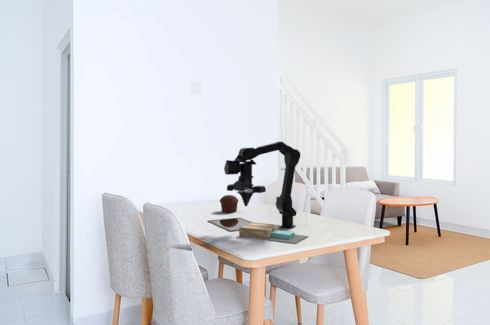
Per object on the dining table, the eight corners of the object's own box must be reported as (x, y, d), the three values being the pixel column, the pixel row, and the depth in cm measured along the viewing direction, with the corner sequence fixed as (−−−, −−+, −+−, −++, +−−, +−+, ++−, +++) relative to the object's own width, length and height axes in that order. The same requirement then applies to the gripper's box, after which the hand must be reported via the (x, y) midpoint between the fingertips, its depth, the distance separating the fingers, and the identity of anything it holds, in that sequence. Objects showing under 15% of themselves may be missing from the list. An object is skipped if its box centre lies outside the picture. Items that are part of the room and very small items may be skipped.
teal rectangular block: (276, 234, 196) (276, 230, 195) (294, 236, 191) (294, 232, 191) (270, 236, 190) (271, 232, 190) (289, 239, 186) (289, 234, 186)
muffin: (237, 210, 264) (237, 194, 264) (239, 213, 253) (239, 196, 253) (218, 210, 263) (218, 194, 262) (220, 213, 252) (220, 196, 251)
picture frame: (264, 228, 212) (239, 219, 236) (264, 226, 212) (239, 217, 236) (230, 232, 203) (207, 222, 228) (230, 230, 203) (207, 220, 228)
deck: (253, 230, 206) (253, 222, 205) (279, 233, 199) (280, 225, 199) (239, 236, 194) (239, 227, 193) (266, 239, 187) (266, 230, 186)
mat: (281, 233, 199) (281, 232, 199) (308, 236, 192) (308, 236, 192) (267, 240, 186) (267, 239, 186) (295, 244, 179) (295, 243, 179)
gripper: (220, 174, 201) (220, 206, 202) (255, 176, 192) (255, 210, 193) (232, 172, 211) (232, 203, 212) (266, 174, 201) (266, 206, 202)
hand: (246, 206), depth 204 cm, fingers closed
